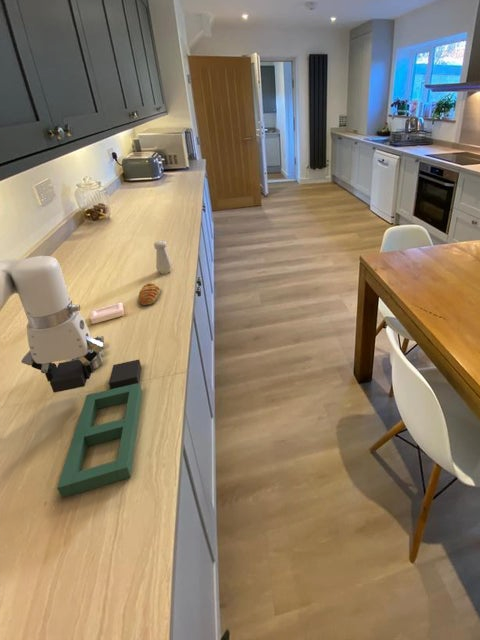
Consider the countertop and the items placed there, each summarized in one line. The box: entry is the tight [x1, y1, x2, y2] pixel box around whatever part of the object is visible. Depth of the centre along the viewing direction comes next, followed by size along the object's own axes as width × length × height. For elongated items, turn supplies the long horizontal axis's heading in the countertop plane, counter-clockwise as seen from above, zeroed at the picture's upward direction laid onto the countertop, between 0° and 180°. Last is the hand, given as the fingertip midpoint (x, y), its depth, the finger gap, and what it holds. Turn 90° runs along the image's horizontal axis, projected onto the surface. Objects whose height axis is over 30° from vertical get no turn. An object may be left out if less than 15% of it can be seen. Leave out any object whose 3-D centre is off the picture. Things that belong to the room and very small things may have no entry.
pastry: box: [138, 282, 161, 306], centre depth 112 cm, size 9×7×4 cm
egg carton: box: [68, 335, 105, 370], centre depth 86 cm, size 11×8×4 cm
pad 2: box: [108, 359, 142, 390], centre depth 80 cm, size 6×6×3 cm
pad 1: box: [49, 360, 88, 394], centre depth 74 cm, size 6×6×3 cm
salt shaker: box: [153, 240, 173, 275], centre depth 127 cm, size 6×6×13 cm
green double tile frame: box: [56, 382, 143, 499], centre depth 66 cm, size 11×20×3 cm, turn 18°
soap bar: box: [89, 302, 125, 325], centre depth 103 cm, size 5×9×2 cm, turn 120°
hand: (72, 377), depth 74 cm, fingers closed on pad 1, 6 cm apart
